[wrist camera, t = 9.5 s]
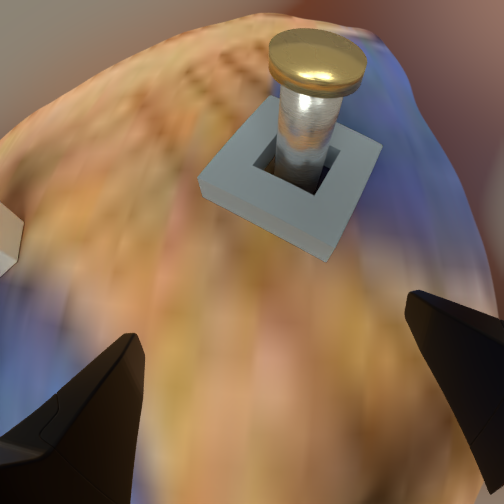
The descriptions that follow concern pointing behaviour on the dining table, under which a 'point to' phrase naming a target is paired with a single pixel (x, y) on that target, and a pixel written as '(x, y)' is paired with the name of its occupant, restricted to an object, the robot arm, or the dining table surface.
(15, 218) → the jar
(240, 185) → the socket block
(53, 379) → the dining table surface
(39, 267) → the dining table surface
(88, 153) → the dining table surface
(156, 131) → the dining table surface
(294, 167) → the pin
